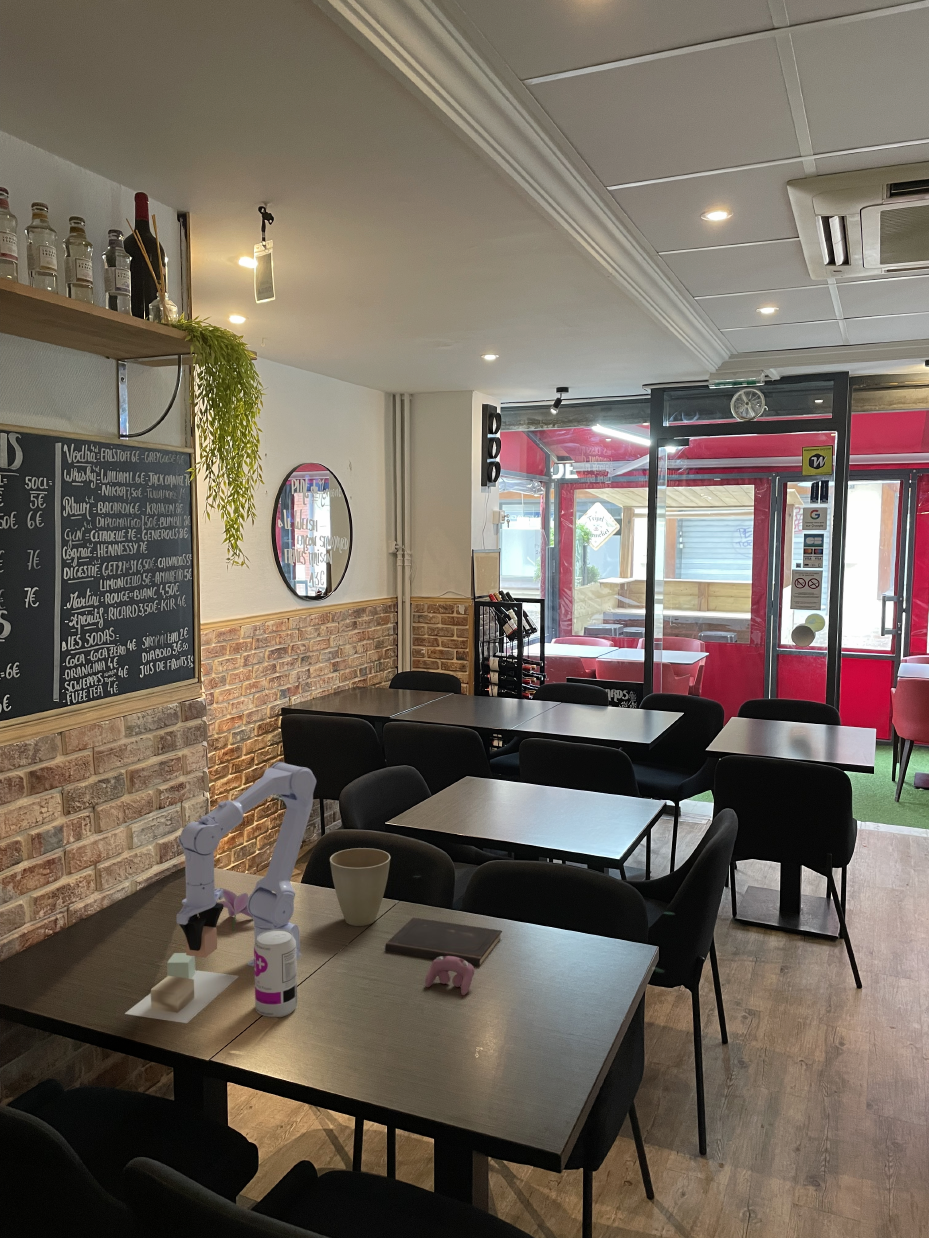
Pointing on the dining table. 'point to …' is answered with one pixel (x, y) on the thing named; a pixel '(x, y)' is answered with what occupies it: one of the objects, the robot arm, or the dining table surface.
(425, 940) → the hardcover book
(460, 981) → the video game controller
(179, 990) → the birch base block
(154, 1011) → the mat
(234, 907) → the lily
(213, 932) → the terracotta block
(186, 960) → the sage block
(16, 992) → the dining table surface
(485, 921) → the dining table surface
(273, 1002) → the supplement can
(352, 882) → the plant pot
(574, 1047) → the dining table surface
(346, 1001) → the dining table surface
